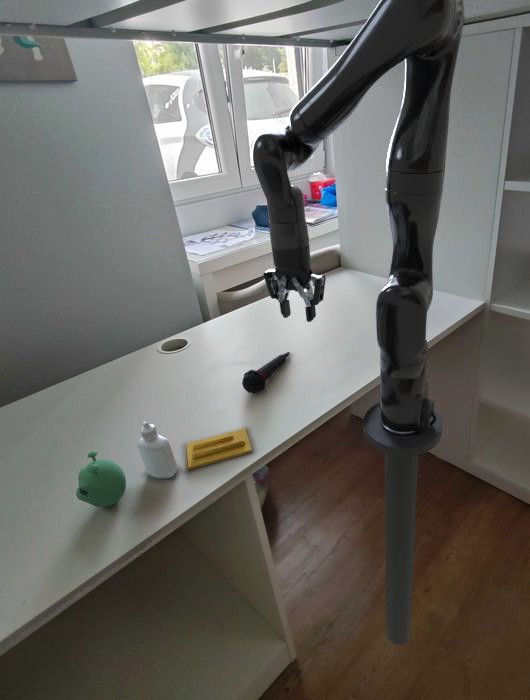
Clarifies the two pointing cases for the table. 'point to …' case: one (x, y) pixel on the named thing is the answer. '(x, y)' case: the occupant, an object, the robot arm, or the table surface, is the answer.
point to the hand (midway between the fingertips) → (298, 318)
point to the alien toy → (101, 482)
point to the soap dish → (218, 448)
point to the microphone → (262, 375)
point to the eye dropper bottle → (156, 453)
